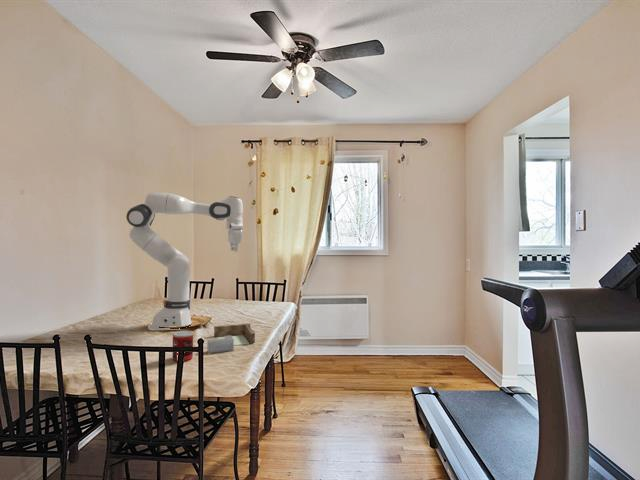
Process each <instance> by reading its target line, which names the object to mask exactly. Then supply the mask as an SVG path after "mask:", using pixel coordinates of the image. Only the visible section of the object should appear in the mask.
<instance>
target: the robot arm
mask: <svg viewBox="0 0 640 480" xmlns="http://www.w3.org/2000/svg"><path fill="white" fill-rule="evenodd" d="M156 214H165V215H185V214H186V215H187V214H195V215H204V216H208V217H211V218H212V219H215V220H217V221H224V220H225V219H226V222H225V223H226V224H225V225H226V229H227V230H228V231H227V233H228V234H227V242H229V245H230V251H233V252H234V253H235V252H238V248H239V244H241V243H242V236H243V230H244V224H243V222H244V220H243V214H244V205H243V200H242V199H241V198H240V197H237V196H234V195H233V196H232V195H229V196H228V197H226V198H224V199H221V200H219V201H215V202H213V203H211V204H210V203H209V204H207V203H202V202H195V201H193V200H190V199H189V198H186V197H184V196H181V195H178V194H175V193H171V192H170V193H169V192H160V191H159V192H157V191H155V192H150V193H148V194H147V195H146V197H145V199H144V203H141V204H137V205H135V206H133V207H131V208H129V209H128V211H127V212H126V221H127V222H128V224H129V225H131V226H132V228H131V229H130V232H129V235H128V236H129V239H131V241H132V242H133V243H134V244H135V245H136V246H137V247H138V248H140V249H141V250H142V251H143V252H144V253H146V254H147V255H148V256H149V257H151V258H152V259H154V260H155V261H157V262H158V263H160V264H161V265H163V266H165V267H166V268H167V300H166V299H164V300H163V301H162V304H163V308H162V309H160V310H159V311H157V312H156V313H155V314H154V316H153V317H152V321H151V323H152V326H151V325H150V323H149V324H148V325H147V330H149V331H153V332H154V331H181V329H180V328H179V329H170V328H159V326H162V327H169V326H185V325H189V324H191V323H192V324H193V322H192V319H191V299H190V283H191V282H190V273H191V271H190V270H191V269H190V268H191V267H190V266H191V264H190V263H191V262H190V259H189V258H188V257H187V256H186V254H183V253H182V252H181V251H180V250H178V249H177V248H176V247H174V246H173V245H171V244H170V243H168V241H166V240H165V239H164V238H163V237H161V236H160V235H159V234H157V233H156V232H155V231H154V230H153V229H152V228H151V225H153V221H154V220H155V217H156Z"/></svg>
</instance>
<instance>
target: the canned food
mask: <svg viewBox="0 0 640 480" xmlns="http://www.w3.org/2000/svg"><path fill="white" fill-rule="evenodd" d="M173 347H193V348H194V332H193V331H192V330H176V331H175V332H173V333H172V348H173ZM193 352H194V351H193ZM193 352H185V353H184V362H183V363H185V362H190V361H191V360H192V359H193V357H194V356H193V355H194V353H193ZM177 355H178V353H177V352H173V351H172V360H173V361H174V362H175V363H178V362H177Z"/></svg>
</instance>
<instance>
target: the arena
mask: <svg viewBox="0 0 640 480" xmlns="http://www.w3.org/2000/svg"><path fill="white" fill-rule="evenodd" d="M213 332H214V333H213V336H214V338H219V337H225V336H229V335H231V336H240V335H244V337H245V338H246V340H247V341H248V342H249V344H251V345H254V344H253V343H256V342H255V339H256V333H255V332H254V331H253V329H252V328H251V323H241V324H229V325H228V324H226V325H225V324H224V325H217V326H216V325H215V326H214V328H213Z"/></svg>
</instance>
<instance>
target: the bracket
mask: <svg viewBox="0 0 640 480" xmlns="http://www.w3.org/2000/svg"><path fill="white" fill-rule="evenodd" d="M232 336H233V335H229V336H224V337H225V338H224V339H217V338H216V339H207V342H206V344H207V345H206V346H207V350H206V352H207V354H216V353H223V352H224V353H225V352H233V351H234V350H235V349H234V346H235V345H234V339H233V338H232Z"/></svg>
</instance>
